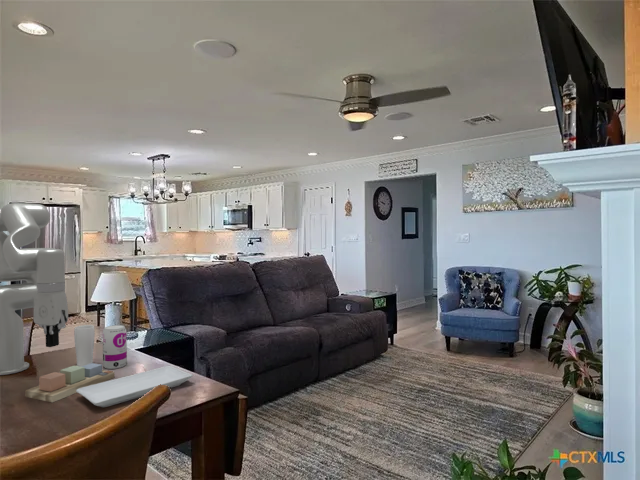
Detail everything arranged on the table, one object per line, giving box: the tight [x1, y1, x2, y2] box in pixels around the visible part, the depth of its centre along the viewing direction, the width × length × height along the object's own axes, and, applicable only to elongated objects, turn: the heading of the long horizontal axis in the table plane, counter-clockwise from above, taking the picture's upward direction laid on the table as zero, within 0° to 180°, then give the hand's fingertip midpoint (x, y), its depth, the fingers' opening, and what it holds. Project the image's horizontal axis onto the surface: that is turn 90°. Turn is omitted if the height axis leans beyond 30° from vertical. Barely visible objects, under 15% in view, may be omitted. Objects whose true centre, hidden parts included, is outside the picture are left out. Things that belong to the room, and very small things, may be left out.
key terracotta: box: [38, 371, 65, 393], centre depth 134 cm, size 5×5×4 cm
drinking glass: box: [73, 324, 96, 367], centre depth 161 cm, size 7×7×15 cm
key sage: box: [59, 365, 85, 385], centre depth 140 cm, size 5×5×4 cm
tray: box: [76, 365, 194, 408], centre depth 137 cm, size 17×32×4 cm, turn 138°
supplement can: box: [102, 324, 128, 370], centre depth 161 cm, size 8×8×15 cm
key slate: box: [82, 362, 103, 378], centre depth 147 cm, size 5×5×4 cm
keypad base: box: [24, 369, 116, 403], centre depth 140 cm, size 12×23×2 cm, turn 159°
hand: (52, 345), depth 133 cm, fingers closed
